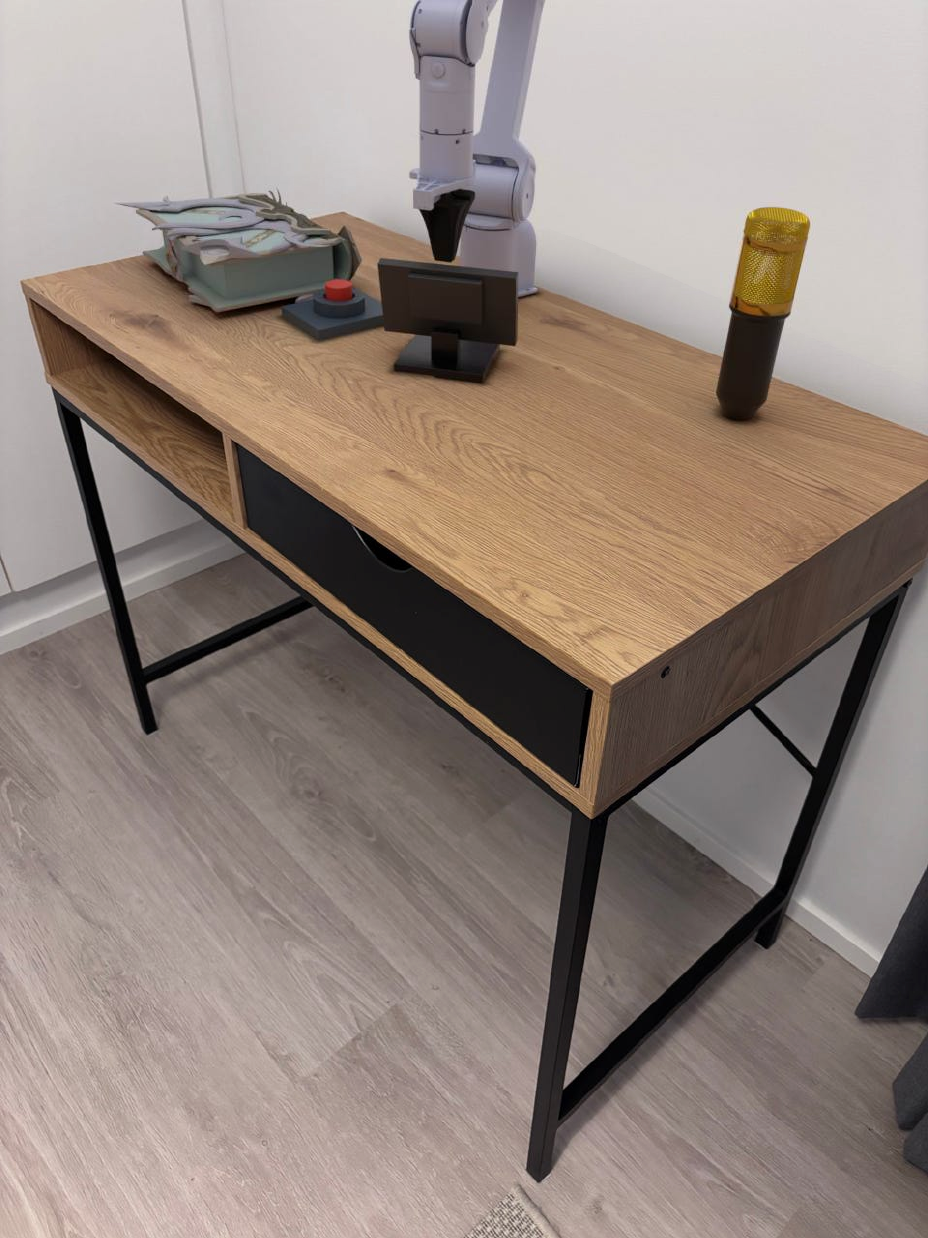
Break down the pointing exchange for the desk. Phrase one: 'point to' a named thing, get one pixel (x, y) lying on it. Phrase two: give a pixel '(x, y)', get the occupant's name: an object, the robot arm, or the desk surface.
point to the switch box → (335, 315)
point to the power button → (338, 290)
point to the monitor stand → (447, 356)
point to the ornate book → (247, 249)
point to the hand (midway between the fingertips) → (444, 259)
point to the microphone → (760, 306)
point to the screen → (449, 300)
